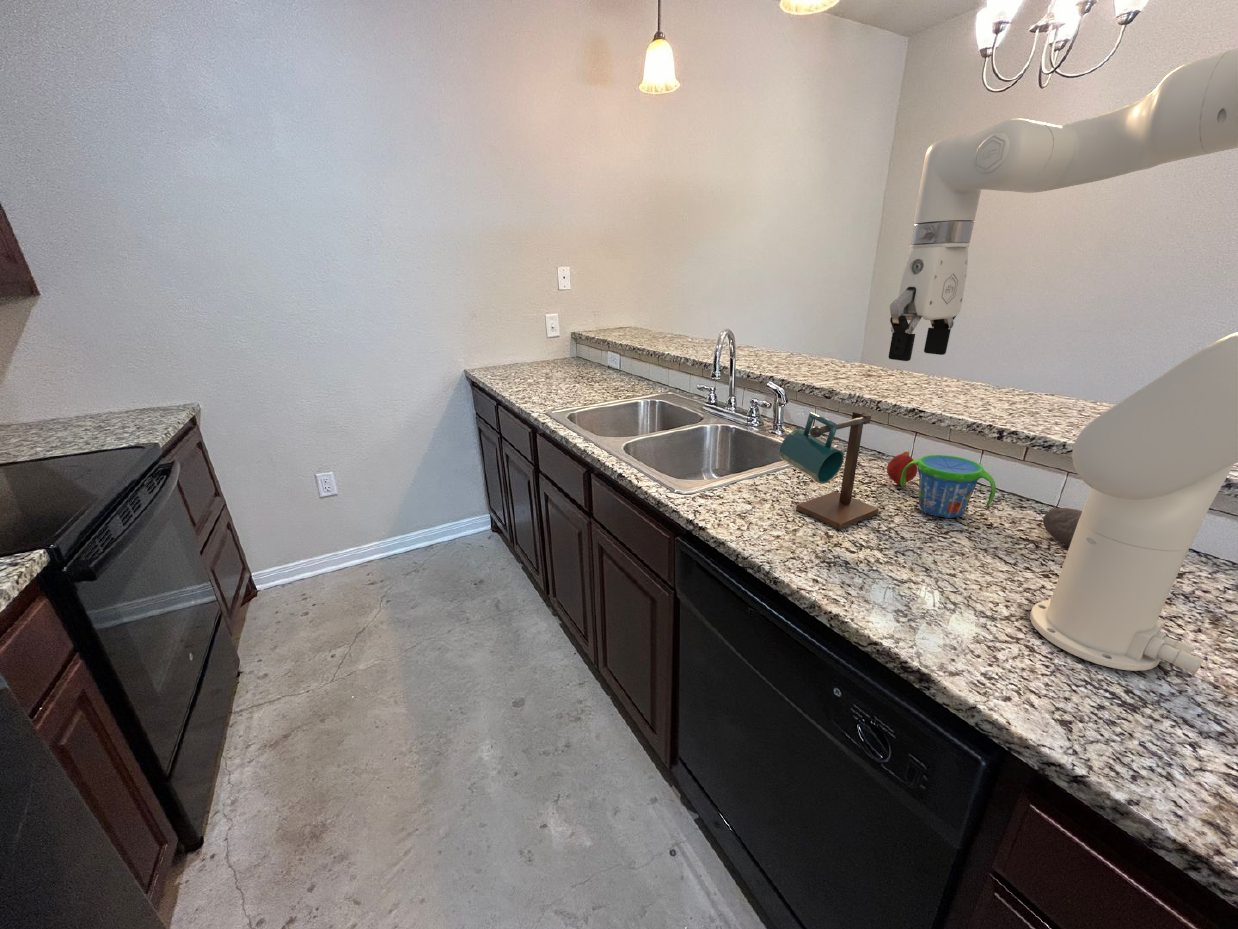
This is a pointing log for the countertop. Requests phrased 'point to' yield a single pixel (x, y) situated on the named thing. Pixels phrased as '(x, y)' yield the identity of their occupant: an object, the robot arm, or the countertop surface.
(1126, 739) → the countertop surface
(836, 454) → the mug
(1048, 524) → the perforated stone tool
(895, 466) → the onion
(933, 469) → the snack cup
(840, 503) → the mug rack
